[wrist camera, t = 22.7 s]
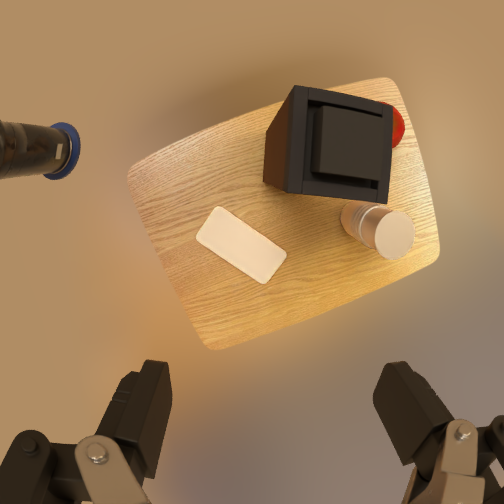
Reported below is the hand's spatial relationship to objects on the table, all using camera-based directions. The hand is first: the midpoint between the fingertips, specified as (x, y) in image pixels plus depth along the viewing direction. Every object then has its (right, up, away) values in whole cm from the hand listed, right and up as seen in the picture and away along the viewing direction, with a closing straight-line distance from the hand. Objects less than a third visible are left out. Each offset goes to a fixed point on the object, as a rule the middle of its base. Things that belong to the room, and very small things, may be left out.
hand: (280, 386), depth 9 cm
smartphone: (-3, +6, +40) cm, 40 cm away
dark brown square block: (+6, +13, +12) cm, 19 cm away
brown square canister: (+5, +20, +36) cm, 42 cm away
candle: (+18, +11, +39) cm, 45 cm away
